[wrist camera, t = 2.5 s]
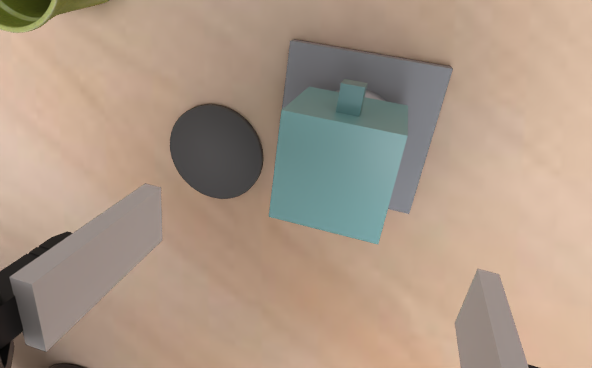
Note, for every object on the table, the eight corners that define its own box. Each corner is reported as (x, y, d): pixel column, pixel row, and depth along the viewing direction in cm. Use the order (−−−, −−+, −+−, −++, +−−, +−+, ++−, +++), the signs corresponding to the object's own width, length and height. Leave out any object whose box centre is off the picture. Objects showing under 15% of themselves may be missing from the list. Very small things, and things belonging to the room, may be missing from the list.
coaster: (173, 184, 40) (170, 186, 39) (173, 95, 36) (169, 97, 35) (258, 205, 38) (256, 208, 38) (267, 115, 34) (265, 117, 34)
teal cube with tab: (384, 195, 30) (378, 244, 24) (296, 174, 32) (268, 216, 25) (414, 80, 27) (416, 104, 20) (312, 62, 28) (285, 79, 22)
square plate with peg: (277, 176, 37) (240, 224, 29) (294, 39, 31) (255, 52, 23) (409, 207, 35) (409, 268, 27) (451, 66, 29) (466, 90, 21)
